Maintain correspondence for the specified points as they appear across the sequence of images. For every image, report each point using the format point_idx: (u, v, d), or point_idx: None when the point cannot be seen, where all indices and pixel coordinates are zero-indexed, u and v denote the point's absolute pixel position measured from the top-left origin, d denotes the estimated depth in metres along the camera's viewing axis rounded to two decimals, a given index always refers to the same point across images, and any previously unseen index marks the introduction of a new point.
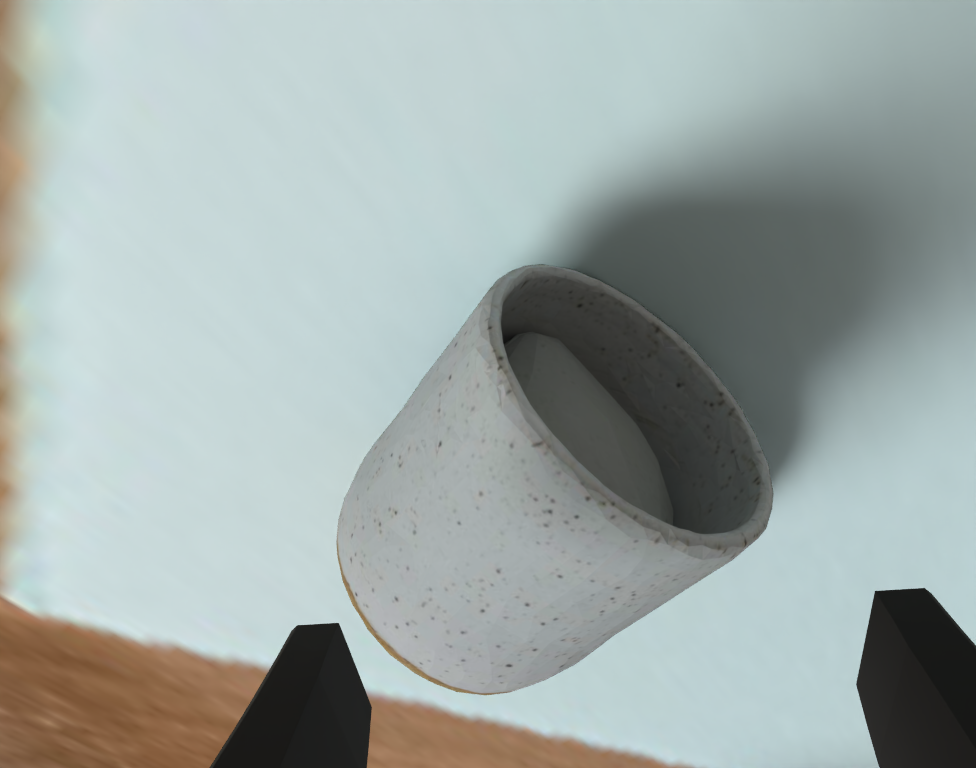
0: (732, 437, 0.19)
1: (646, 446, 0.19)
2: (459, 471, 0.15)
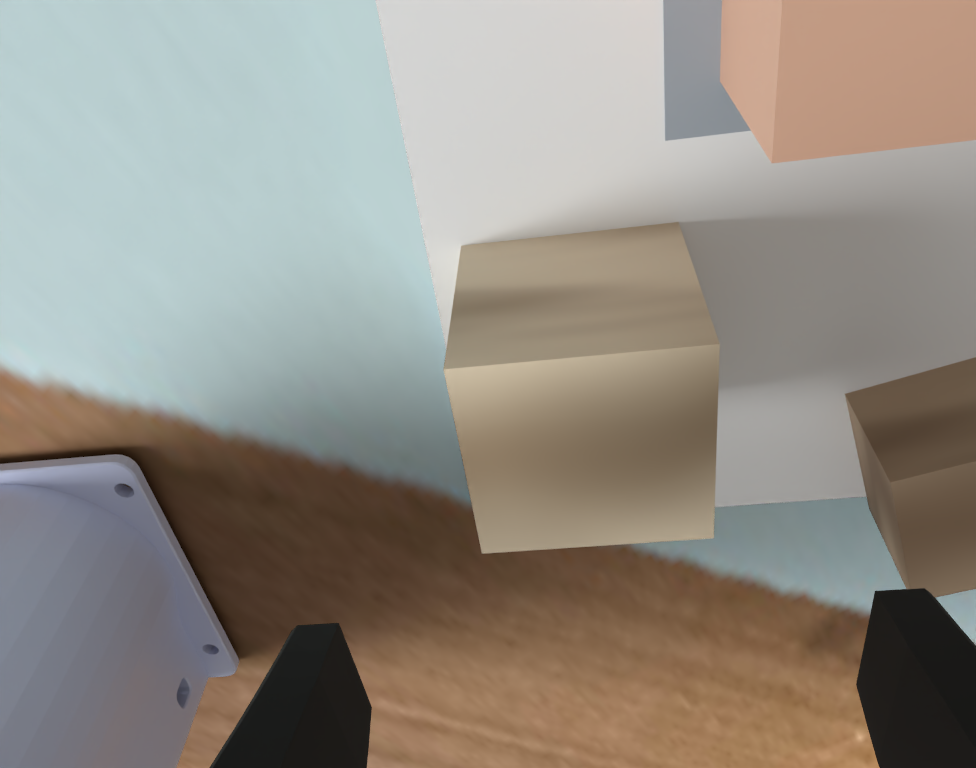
0: None
1: None
2: None
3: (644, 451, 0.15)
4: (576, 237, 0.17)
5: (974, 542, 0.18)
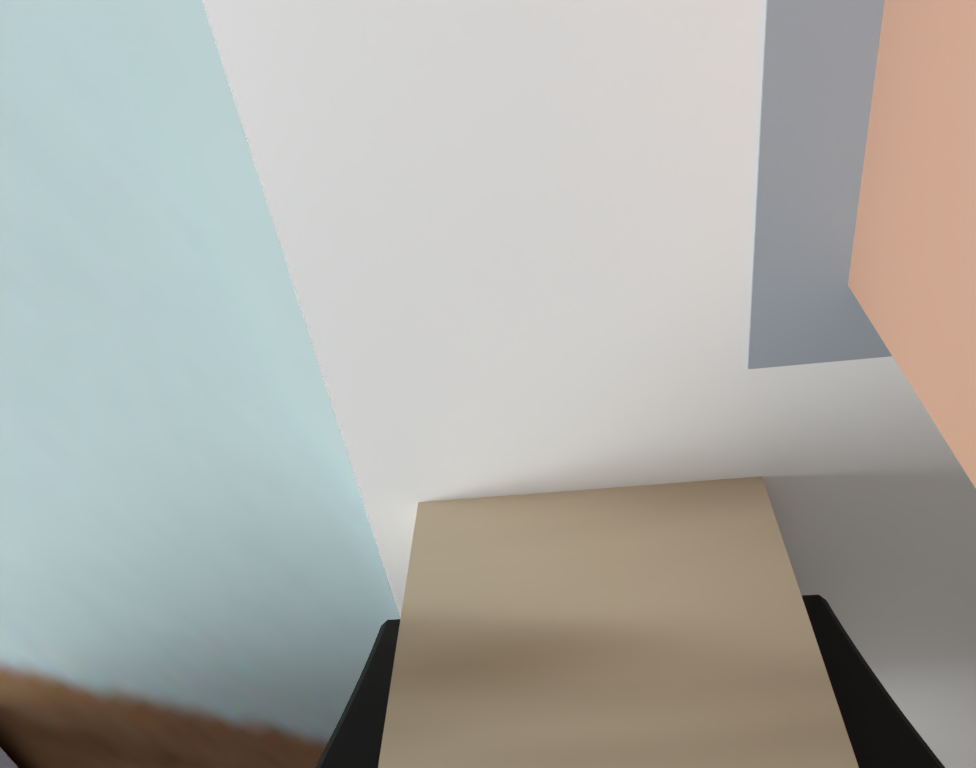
0: None
1: None
2: None
3: None
4: (599, 499, 0.11)
5: None
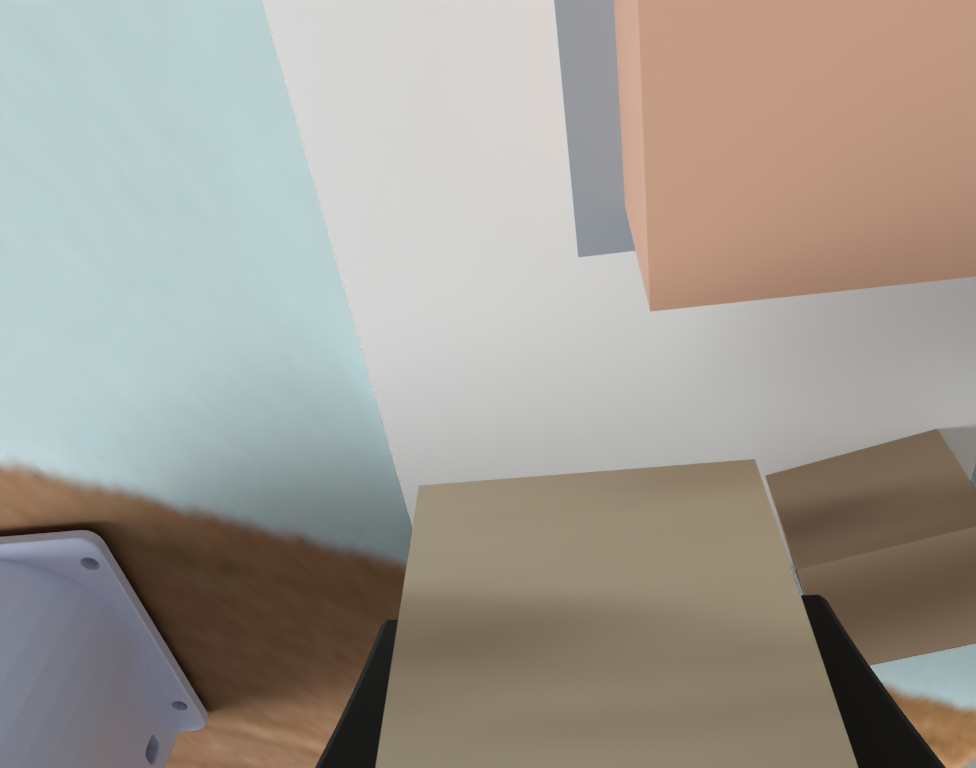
0: None
1: None
2: None
3: None
4: (596, 481, 0.11)
5: (882, 621, 0.19)
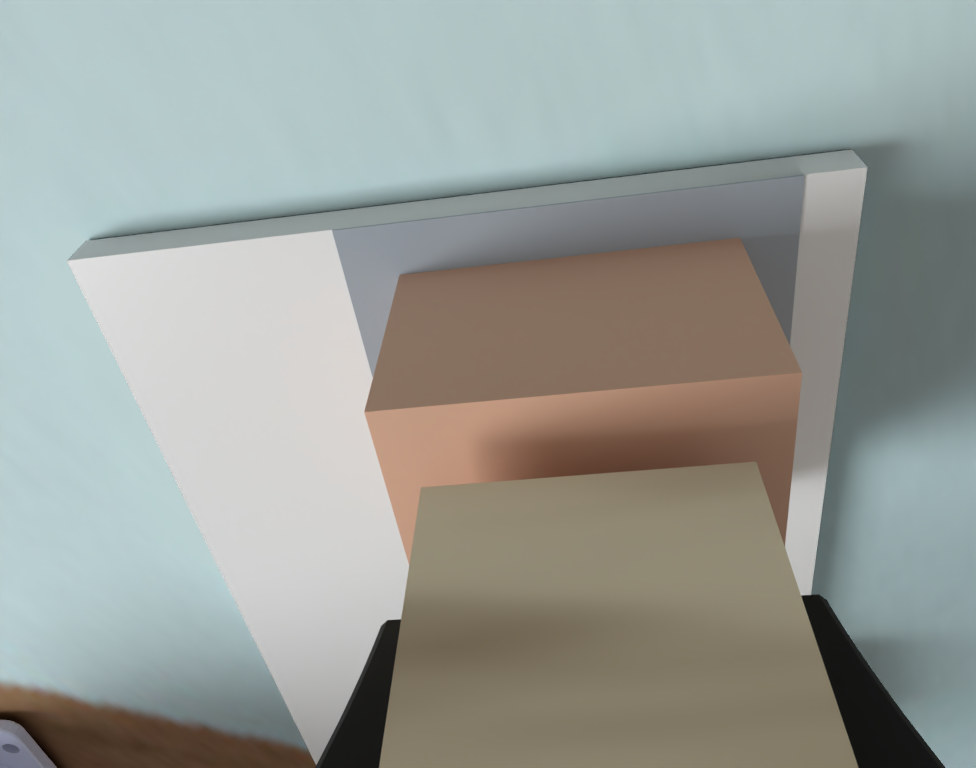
0: None
1: None
2: None
3: None
4: (597, 483, 0.11)
5: None
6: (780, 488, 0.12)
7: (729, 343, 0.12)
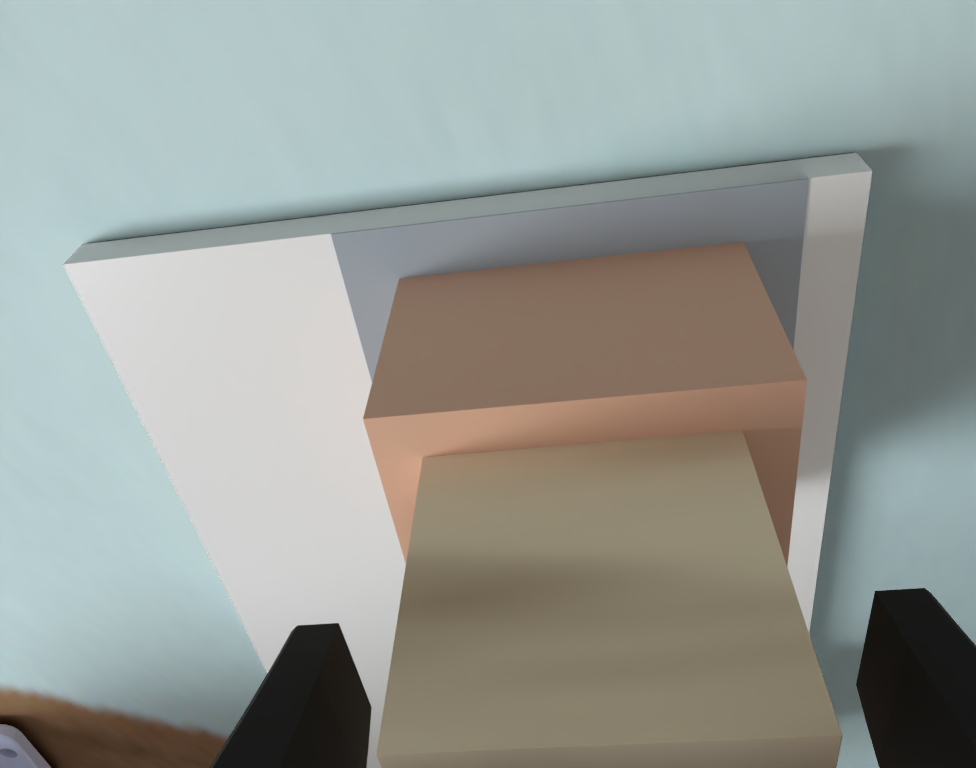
0: None
1: None
2: None
3: None
4: (591, 452, 0.11)
5: None
6: (784, 496, 0.12)
7: (733, 350, 0.12)
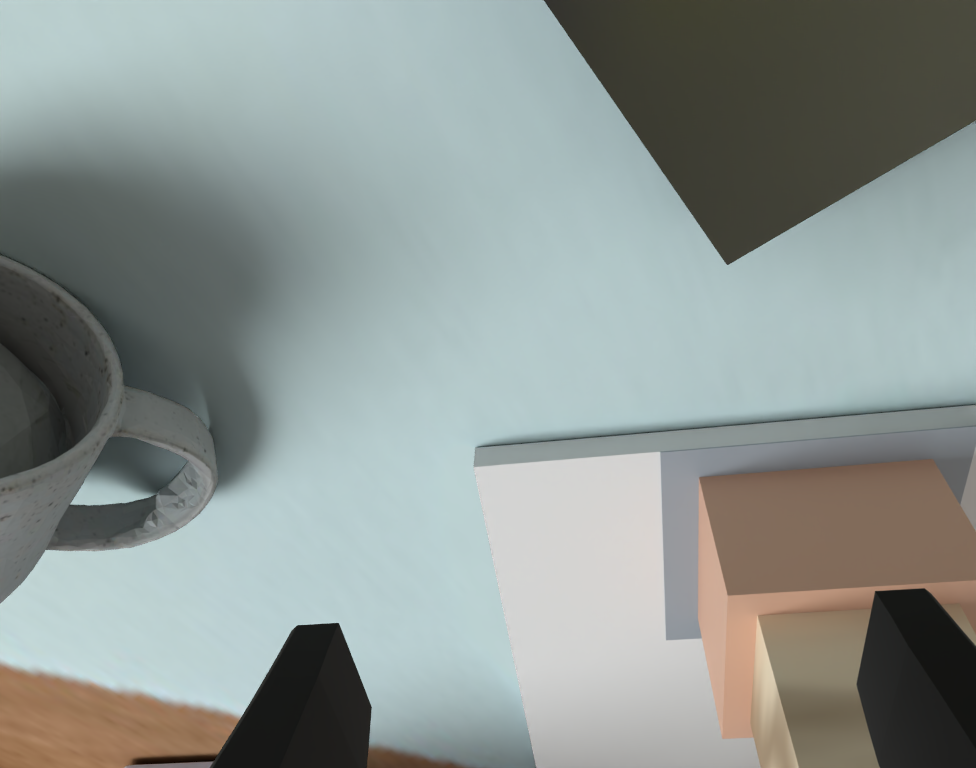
0: (104, 401, 0.19)
1: (16, 410, 0.19)
2: None
3: None
4: (866, 615, 0.19)
5: None
6: None
7: (951, 553, 0.19)
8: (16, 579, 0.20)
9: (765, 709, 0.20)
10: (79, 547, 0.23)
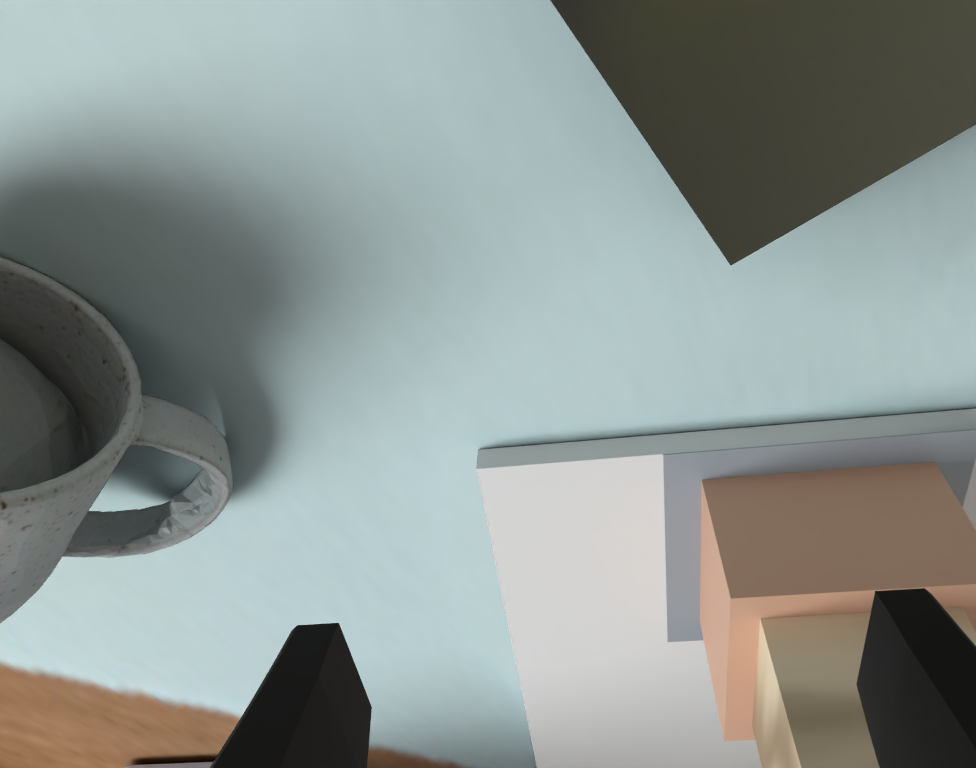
0: (122, 410, 0.19)
1: (35, 419, 0.19)
2: None
3: None
4: None
5: None
6: None
7: (954, 556, 0.19)
8: (34, 586, 0.20)
9: (768, 712, 0.20)
10: (94, 553, 0.23)
